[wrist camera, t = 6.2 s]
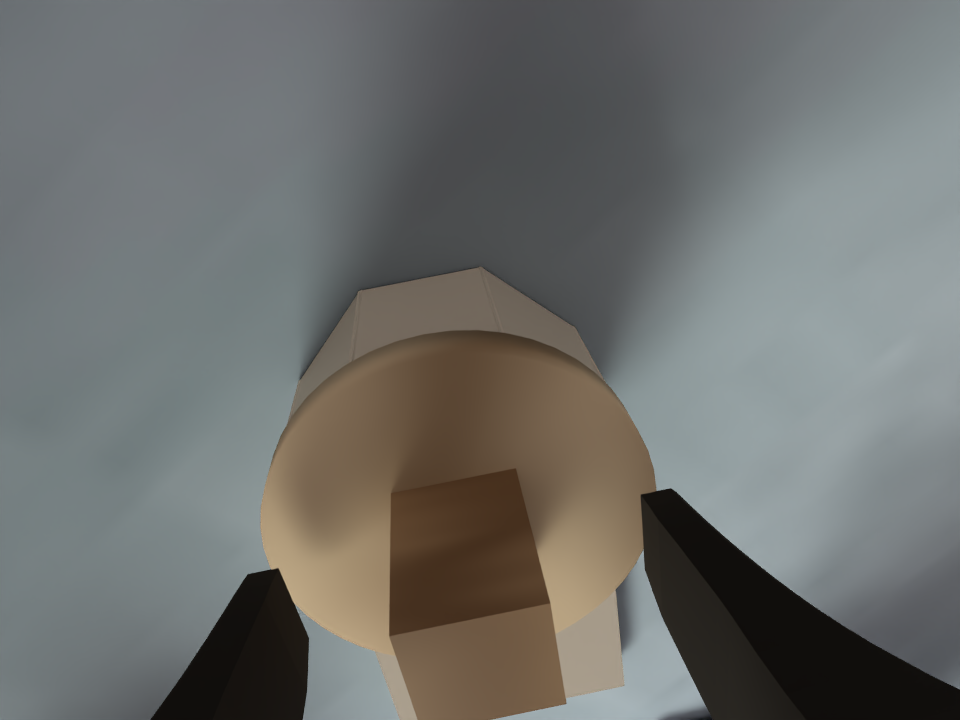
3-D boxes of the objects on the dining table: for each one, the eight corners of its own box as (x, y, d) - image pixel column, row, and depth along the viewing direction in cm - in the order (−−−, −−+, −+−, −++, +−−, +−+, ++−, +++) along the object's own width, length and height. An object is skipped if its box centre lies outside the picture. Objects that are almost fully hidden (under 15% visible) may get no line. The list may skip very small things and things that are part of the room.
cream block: (600, 497, 21) (609, 518, 20) (616, 661, 25) (624, 685, 24) (348, 548, 21) (346, 572, 20) (404, 705, 25) (404, 731, 24)
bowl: (567, 249, 17) (611, 313, 13) (591, 480, 20) (631, 579, 17) (272, 306, 17) (238, 387, 13) (349, 529, 20) (339, 639, 17)
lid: (631, 293, 13) (732, 417, 9) (648, 589, 17) (723, 763, 13) (211, 375, 13) (131, 538, 9) (327, 654, 17) (307, 851, 13)
